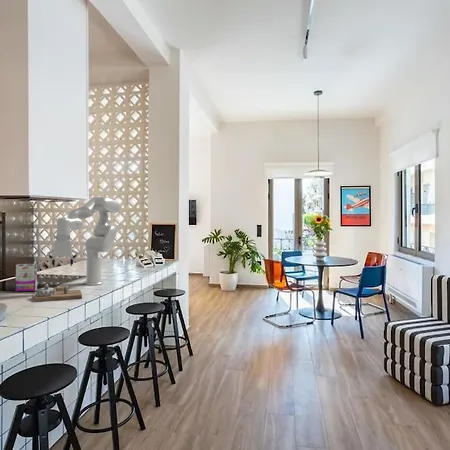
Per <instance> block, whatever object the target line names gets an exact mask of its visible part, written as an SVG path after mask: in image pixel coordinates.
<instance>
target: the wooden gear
mask: <svg viewBox="0 0 450 450" xmlns="http://www.w3.org/2000/svg"><path fill="white" fill-rule="evenodd" d="M64 286H65V285H58V286H56V287H55V291H64ZM66 286H67V291H68V290H70V287H69V286H68V285H66Z"/></svg>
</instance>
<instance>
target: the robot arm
mask: <svg viewBox="0 0 450 450" xmlns="http://www.w3.org/2000/svg"><path fill="white" fill-rule="evenodd" d="M121 207H122V206H121V203H120V202H119V201H118V200H116V199H112V198H110V197H106V196H93V197H91V199H89V200H88V201H87V202H85V203H84V204H83V205H82V206H79V207H77V208H75V209H72V210H71V211H68V212H67V213H65V214H64V215H63V216H62V217H58V218H57V219H56V235H54V236H53V239H55V240H54V244H53V249H51V250H50V251H47V253H46V254H47V256H48V258H49V259H51V265H52V267H55V261H56V260H55V259H56V258H68V257H69V258H70V265H69V266H70V267H72V266H73V265H74V259H75V258H77V256H78V254H79V251H76V250H74V249H73V245H72V244H73V243H72V240H71V230H75V231H76V230H80V229H81V228H82V227H83V223H84V222H83V219H88V218H90V217H92V216H93V215H94V214H96V212H98V214H99V218H98V222H97V223H96V225H95V227H94V229H93V235H94V236H93V237H89V238H87V239H86V241H85V244H84V246H85V247H84V248H85V251H86V268H85V269H86V270H85V272H86V274H85V275H86V278H85V279H86V280H85V281H83V284H84V285H87V286H97V285H98V286H99V285H102V284H103V283H104V281H103V280H102V278H101V277H102V255H101V253H108V252H109V251H110V250H111V249H112V246H113V244H114V241H115V239H116V237H117V235H118V234H117V228H116V227H115V225H112V218H111V215H110V214H118V213H119V212H120V211H121ZM51 253H53V256H52V255H51ZM73 254H74V255H73Z"/></svg>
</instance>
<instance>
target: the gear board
mask: <svg viewBox="0 0 450 450" xmlns="http://www.w3.org/2000/svg"><path fill="white" fill-rule="evenodd" d="M63 286H64V291H56V287H54V288H53V287H49V285H48V284H46V285H44V287H41V288H37V290H36V291H35V296H34V302H35V303H37V302H54V301H55V302H56V301H69V300H82V299H83V294H82V291H81V289H73V290H71V289H69V290H68V291H67V286H68V285H63Z"/></svg>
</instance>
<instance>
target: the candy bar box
mask: <svg viewBox="0 0 450 450" xmlns="http://www.w3.org/2000/svg"><path fill="white" fill-rule="evenodd" d="M14 270H15V278H14V279H15V288H14V289H15V293H19V292H21V293H22V292H37V289H38V263H16V264H15V269H14Z"/></svg>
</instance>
